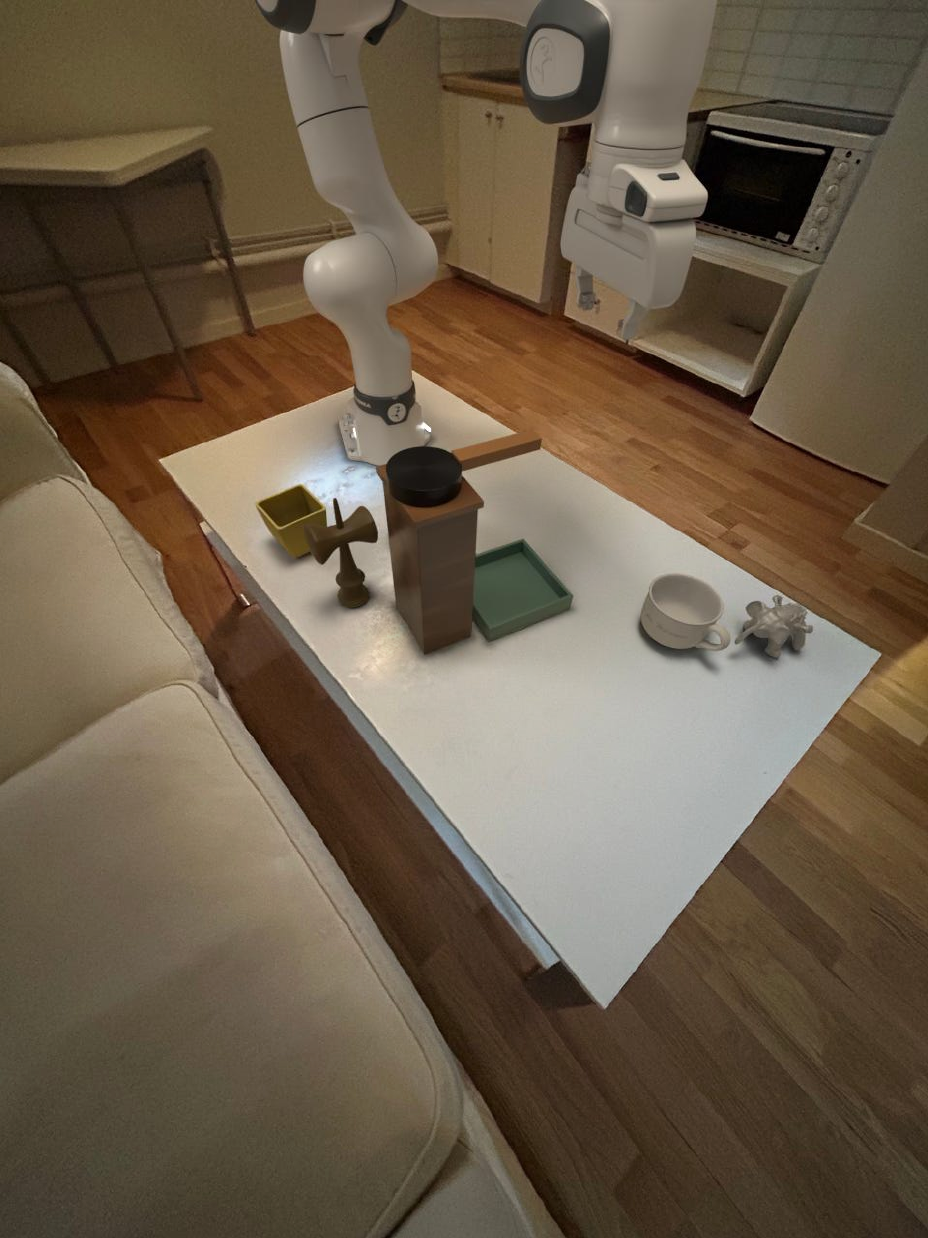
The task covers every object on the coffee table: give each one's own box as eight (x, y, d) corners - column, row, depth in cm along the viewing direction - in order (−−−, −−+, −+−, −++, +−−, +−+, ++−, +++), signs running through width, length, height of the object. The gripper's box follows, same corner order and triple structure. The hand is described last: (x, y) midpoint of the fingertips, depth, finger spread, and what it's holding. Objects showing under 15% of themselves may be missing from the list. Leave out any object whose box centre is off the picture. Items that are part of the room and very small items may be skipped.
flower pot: (290, 570, 92) (278, 529, 85) (267, 543, 96) (253, 502, 89) (335, 548, 96) (327, 507, 89) (311, 523, 100) (301, 482, 93)
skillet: (376, 473, 67) (373, 453, 64) (516, 435, 73) (518, 416, 71) (405, 515, 62) (403, 495, 59) (553, 471, 68) (556, 451, 66)
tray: (445, 578, 92) (445, 564, 89) (521, 551, 96) (523, 538, 94) (488, 641, 83) (489, 628, 81) (570, 608, 88) (573, 595, 85)
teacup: (622, 615, 87) (635, 580, 81) (678, 598, 90) (695, 563, 84) (672, 683, 79) (691, 650, 73) (733, 662, 82) (756, 629, 75)
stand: (391, 604, 87) (375, 466, 68) (441, 586, 90) (440, 449, 70) (422, 658, 81) (414, 522, 61) (475, 637, 83) (484, 500, 64)
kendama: (319, 597, 88) (292, 497, 73) (372, 575, 92) (357, 475, 76) (334, 621, 85) (309, 522, 70) (389, 598, 88) (376, 498, 73)
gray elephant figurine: (807, 642, 84) (833, 610, 79) (770, 685, 79) (796, 654, 73) (752, 609, 89) (773, 576, 83) (713, 647, 83) (733, 615, 77)
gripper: (556, 161, 61) (542, 296, 72) (664, 204, 49) (627, 360, 59) (604, 157, 63) (583, 290, 73) (720, 199, 50) (675, 351, 61)
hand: (603, 322), depth 66 cm, fingers open, 8 cm apart
